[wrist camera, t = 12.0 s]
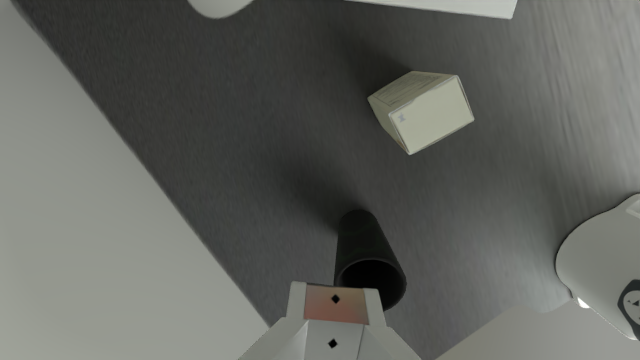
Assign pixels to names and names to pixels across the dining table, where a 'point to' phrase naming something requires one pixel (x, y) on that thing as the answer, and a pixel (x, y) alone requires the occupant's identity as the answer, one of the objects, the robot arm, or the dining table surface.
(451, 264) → the dining table surface
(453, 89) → the skincare box
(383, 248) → the cup
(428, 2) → the board
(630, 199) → the robot arm
